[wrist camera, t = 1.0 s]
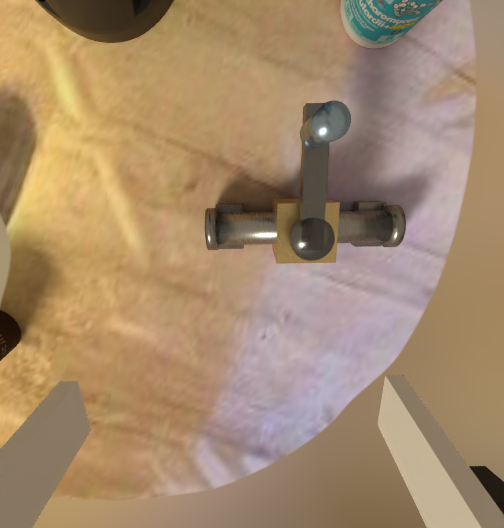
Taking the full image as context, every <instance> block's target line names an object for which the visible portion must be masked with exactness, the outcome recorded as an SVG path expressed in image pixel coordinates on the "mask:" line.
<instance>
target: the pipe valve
mask: <svg viewBox="0 0 504 528" xmlns="http://www.w3.org/2000/svg"><path fill="white" fill-rule="evenodd" d="M215 207H216V208H207V209H206V213H205V237H206V244H207V248H208V250H218V249H241V248H244V245H248V244H273V252H274V256H275V259H276V263H333V262H336V250H337V243H351V244H352V245H354V246H355V247H358V246H381V245H382V246H383V247H397V246H398V245H399V244H400V243H401V242H402V240H403V237H404V234H405V229H406V219H405V214H404V211H403V209H402V208H401V207H400V206H399V205H386V202H382V201H361V202H354V211H339V208H340V202H336V201H333V200H330V199H327V198H326V209H325V221H327V222H328V223H329V224H330V225H331V227H332V228H333V230H334V234H335V242H334V245H333V248H332V249H331V251H330V252H329V253H328V254H327V255H326V256H325V257H323V258H321V259H319V260H315V261H307V260H304V259H301V258H300V257H298V256H297V255H296V254H295V253H294V251H293V249H292V248H291V246H290V243H289V237H288V236H289V231H290V228H291V226H292V225H293V223H294V222H295V221H296V220H298V219H299V218H300V198H281V199H273V212H252V213H243V204H216V205H215Z"/></svg>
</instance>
